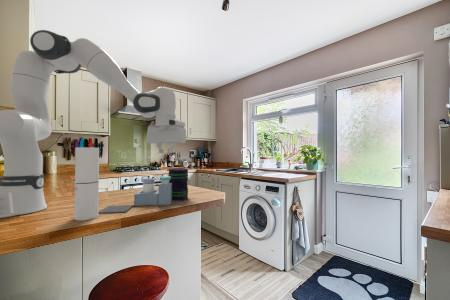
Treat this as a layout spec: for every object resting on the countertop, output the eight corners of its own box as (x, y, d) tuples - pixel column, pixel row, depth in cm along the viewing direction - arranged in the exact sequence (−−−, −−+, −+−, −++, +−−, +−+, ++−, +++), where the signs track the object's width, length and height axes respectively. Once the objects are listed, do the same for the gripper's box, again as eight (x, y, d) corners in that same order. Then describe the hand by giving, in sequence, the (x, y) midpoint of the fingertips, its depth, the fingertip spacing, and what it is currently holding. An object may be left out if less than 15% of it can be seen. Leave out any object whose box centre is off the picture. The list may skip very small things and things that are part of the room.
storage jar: (191, 197, 108) (191, 168, 109) (182, 201, 99) (183, 170, 99) (174, 196, 111) (174, 168, 111) (164, 200, 101) (164, 169, 102)
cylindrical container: (86, 221, 70) (87, 147, 70) (69, 219, 71) (70, 147, 72) (103, 214, 77) (103, 148, 77) (86, 213, 78) (87, 148, 79)
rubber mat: (97, 213, 78) (97, 212, 78) (108, 206, 88) (108, 205, 88) (125, 212, 80) (125, 211, 80) (133, 206, 90) (133, 204, 90)
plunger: (159, 193, 92) (159, 177, 92) (161, 191, 96) (161, 176, 96) (169, 193, 93) (169, 177, 93) (170, 191, 97) (170, 176, 97)
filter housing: (133, 205, 90) (133, 185, 90) (140, 200, 100) (140, 181, 101) (170, 204, 92) (170, 184, 92) (172, 199, 103) (173, 181, 103)
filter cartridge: (141, 204, 93) (141, 179, 93) (144, 201, 98) (144, 178, 98) (153, 203, 94) (153, 179, 94) (155, 201, 99) (155, 178, 99)
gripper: (143, 123, 96) (142, 153, 96) (180, 120, 88) (180, 153, 88) (152, 125, 102) (152, 153, 101) (188, 123, 94) (188, 153, 94)
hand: (165, 153), depth 95 cm, fingers open, 4 cm apart
